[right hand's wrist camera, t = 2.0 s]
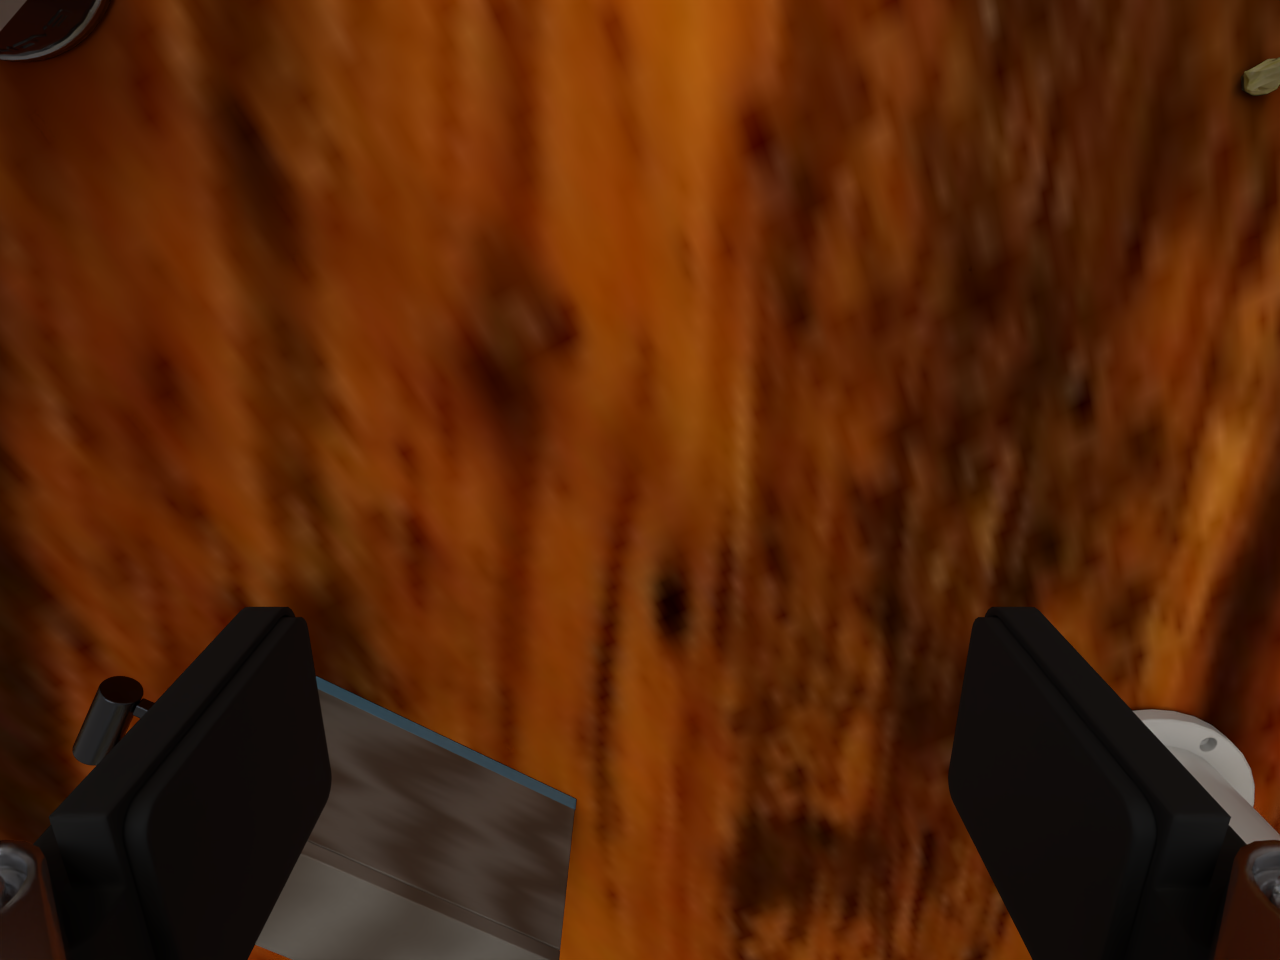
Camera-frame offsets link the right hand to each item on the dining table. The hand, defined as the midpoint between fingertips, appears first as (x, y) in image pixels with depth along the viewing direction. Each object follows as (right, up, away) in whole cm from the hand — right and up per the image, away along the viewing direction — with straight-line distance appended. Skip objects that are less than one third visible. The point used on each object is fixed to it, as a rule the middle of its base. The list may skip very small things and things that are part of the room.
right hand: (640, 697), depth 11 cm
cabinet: (-12, -13, +33) cm, 37 cm away
